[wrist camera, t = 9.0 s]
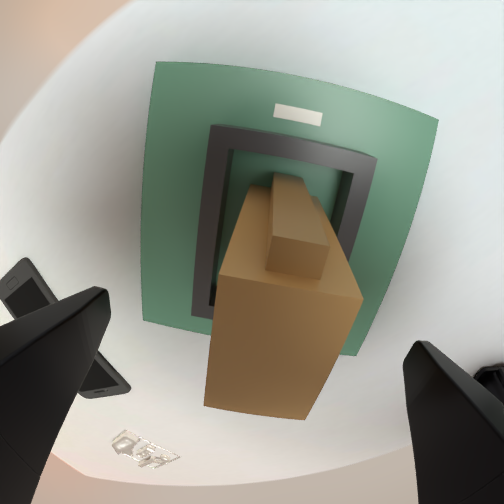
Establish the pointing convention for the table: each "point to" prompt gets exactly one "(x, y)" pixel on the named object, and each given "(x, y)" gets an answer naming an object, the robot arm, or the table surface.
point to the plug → (279, 305)
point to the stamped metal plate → (127, 443)
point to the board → (270, 178)
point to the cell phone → (38, 296)
